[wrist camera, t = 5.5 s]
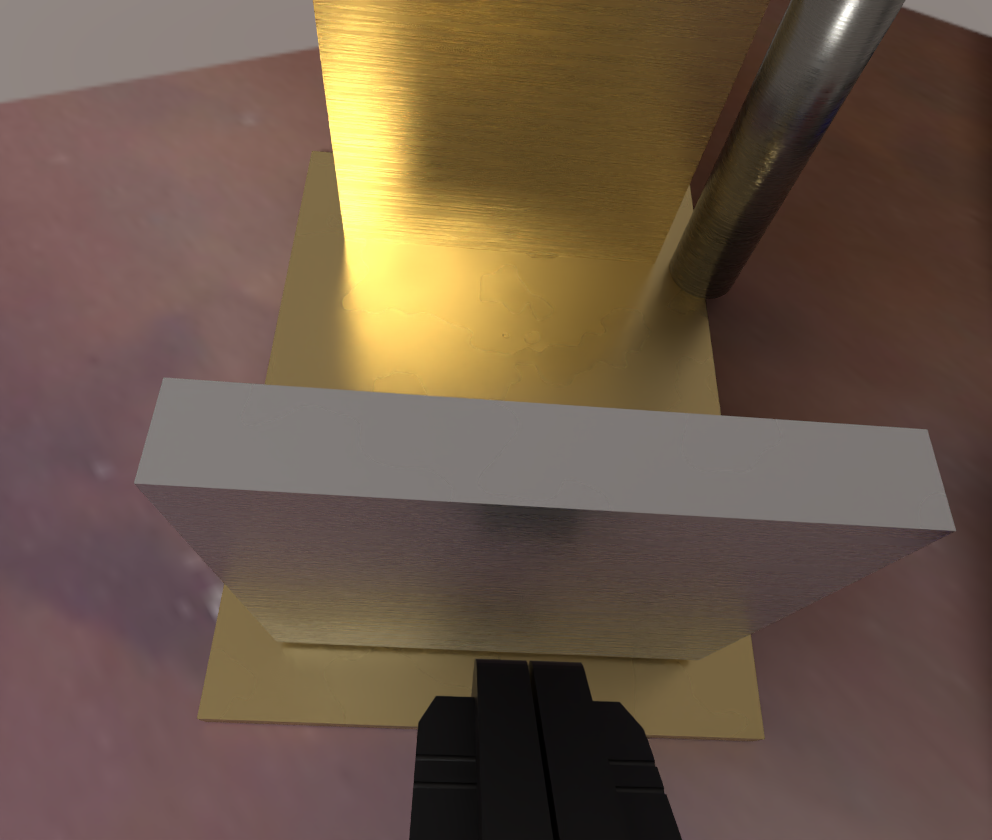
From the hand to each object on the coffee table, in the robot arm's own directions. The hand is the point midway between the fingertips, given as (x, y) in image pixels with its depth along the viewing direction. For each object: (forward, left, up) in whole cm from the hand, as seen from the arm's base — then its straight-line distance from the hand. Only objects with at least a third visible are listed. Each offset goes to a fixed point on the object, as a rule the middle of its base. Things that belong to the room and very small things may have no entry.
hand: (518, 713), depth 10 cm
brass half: (0, -8, -5) cm, 9 cm away
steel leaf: (0, -2, -4) cm, 4 cm away
